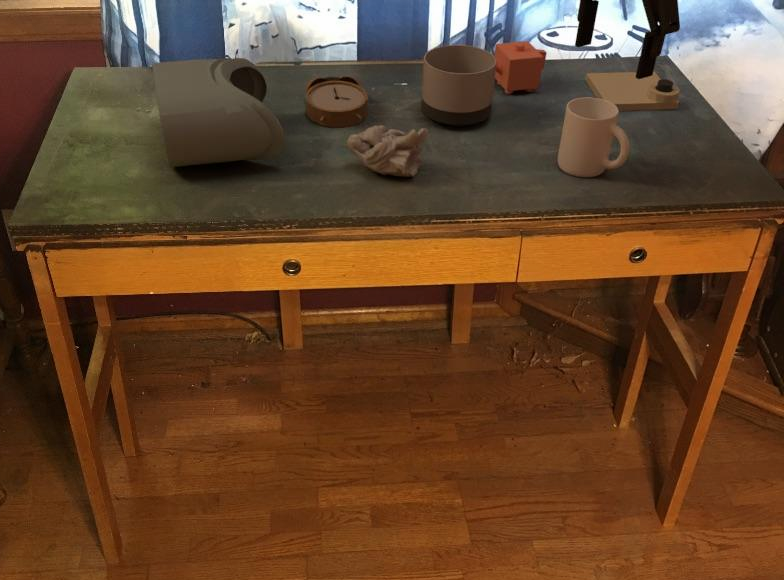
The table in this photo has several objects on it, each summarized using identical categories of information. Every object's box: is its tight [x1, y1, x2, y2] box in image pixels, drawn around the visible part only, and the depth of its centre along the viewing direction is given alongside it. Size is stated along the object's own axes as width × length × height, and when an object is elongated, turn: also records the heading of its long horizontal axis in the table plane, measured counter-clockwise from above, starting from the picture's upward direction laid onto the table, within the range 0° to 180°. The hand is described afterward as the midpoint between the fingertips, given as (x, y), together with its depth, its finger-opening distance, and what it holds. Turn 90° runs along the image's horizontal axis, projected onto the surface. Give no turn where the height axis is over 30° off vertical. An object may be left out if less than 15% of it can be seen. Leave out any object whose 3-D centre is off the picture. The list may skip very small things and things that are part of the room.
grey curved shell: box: [151, 57, 286, 168], centre depth 143 cm, size 22×19×13 cm
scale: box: [584, 71, 681, 112], centre depth 165 cm, size 14×14×3 cm
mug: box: [557, 96, 630, 178], centre depth 140 cm, size 12×8×10 cm
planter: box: [420, 44, 497, 127], centre depth 154 cm, size 13×13×10 cm
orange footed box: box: [493, 40, 547, 94], centre depth 165 cm, size 8×12×8 cm, turn 105°
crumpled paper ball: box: [346, 124, 429, 178], centre depth 140 cm, size 8×10×12 cm
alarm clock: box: [305, 75, 368, 128], centre depth 158 cm, size 11×5×15 cm
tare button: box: [656, 79, 674, 93], centre depth 161 cm, size 3×3×2 cm
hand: (612, 60), depth 131 cm, fingers open, 13 cm apart
